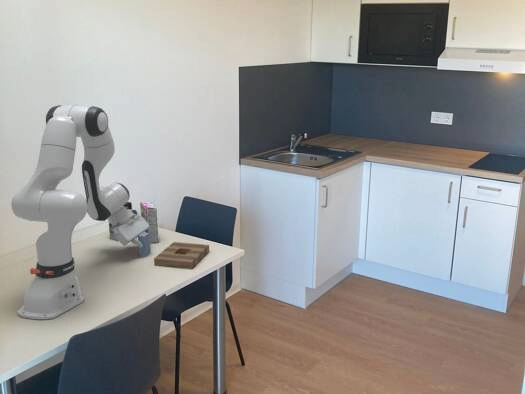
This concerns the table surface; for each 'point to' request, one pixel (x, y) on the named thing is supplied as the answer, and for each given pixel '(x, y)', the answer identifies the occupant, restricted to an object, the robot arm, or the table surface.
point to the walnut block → (181, 255)
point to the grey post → (145, 240)
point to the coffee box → (112, 236)
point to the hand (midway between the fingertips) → (145, 244)
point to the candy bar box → (150, 220)
